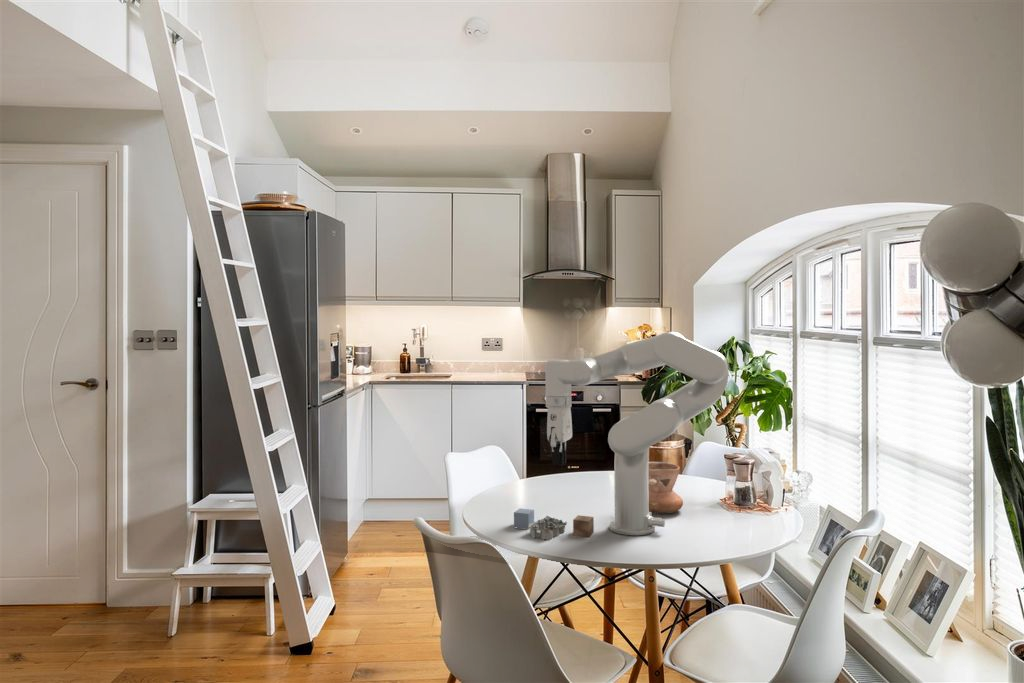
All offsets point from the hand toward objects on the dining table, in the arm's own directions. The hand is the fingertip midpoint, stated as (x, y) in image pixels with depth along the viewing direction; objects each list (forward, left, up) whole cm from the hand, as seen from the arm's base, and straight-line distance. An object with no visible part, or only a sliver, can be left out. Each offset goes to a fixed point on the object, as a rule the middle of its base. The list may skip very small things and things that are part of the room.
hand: (559, 464), depth 187 cm
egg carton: (0, +11, -18) cm, 21 cm away
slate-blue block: (+9, +7, -17) cm, 20 cm away
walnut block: (-9, +8, -17) cm, 21 cm away
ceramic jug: (-25, -23, -17) cm, 38 cm away
